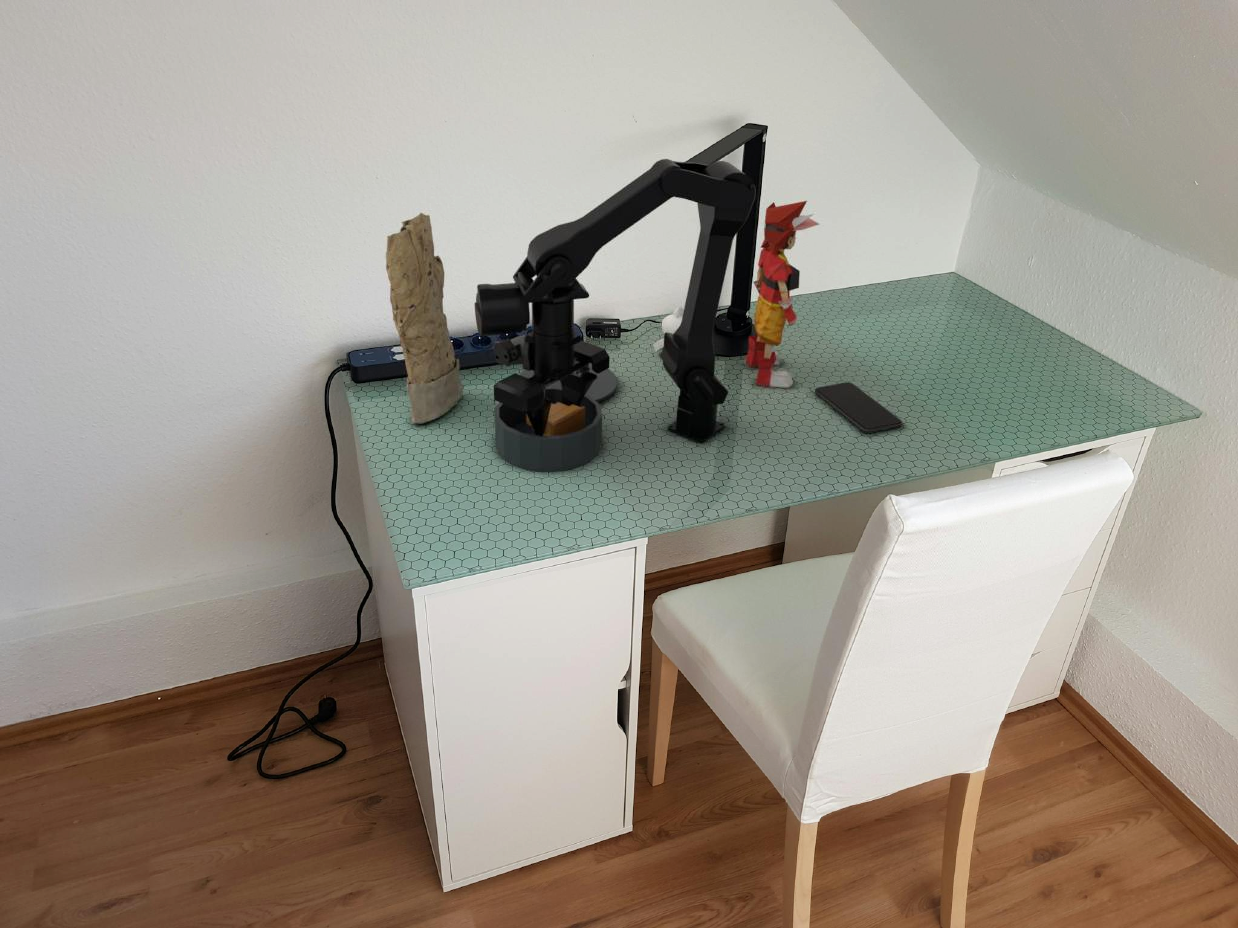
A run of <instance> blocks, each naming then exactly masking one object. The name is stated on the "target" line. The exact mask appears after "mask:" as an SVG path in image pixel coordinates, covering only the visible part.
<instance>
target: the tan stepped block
mask: <svg viewBox="0 0 1238 928" xmlns="http://www.w3.org/2000/svg"><path fill="white" fill-rule="evenodd" d="M526 420H527V424H528V425H531V422H530V420H529V418H528V416H527V413H526ZM531 426H532V425H531ZM583 428H585V407H583V406H581V407H578V406H576V405H573V404H572V405H571V406H567V405H564V404H562V403H559V402H558V403H556V404H551V408H550V412H549V416H548V420H547V424H546V428H545V432H544V435H543V436H557V435H565V434H569V433H573V432H577V431H580V430H582V429H583ZM533 431H534V429H533Z"/></svg>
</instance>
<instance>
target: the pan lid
mask: <svg viewBox="0 0 1238 928" xmlns="http://www.w3.org/2000/svg"><path fill="white" fill-rule="evenodd" d="M588 368H590V372H591V373H594V374H596V375H597V379H596V380H594V381H593V383H592V385H591V386H590V388H589V389H588V391H587V393H586V395H589V396H591V397H592V398H593V399H594V400H595V401H596V402H598V403H599V402H601V401H604V400H606V399H608V398H609V397H610V396H612V395H613V394H614V393H615V391H616V390H617V387H618V379H617V376H616V375H615V372H613V371H612V370H610V368H608V369H606V370H604V371H603V372H601V373H599V374H598V373H595V372H594V371H593V370H592V364H591V363H589V367H588ZM519 375H521V376H523V377H526V378H528V379H529V378H531V377H533V375H534V371H532V370H530V371H527V370H525V369H523V370H522V372H521V373H520V374H519ZM548 387H559V388H562V384H561V382H560V380H559V381H557V382H555V383H553V384H551V385H549V386H548Z"/></svg>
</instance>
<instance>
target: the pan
mask: <svg viewBox="0 0 1238 928" xmlns="http://www.w3.org/2000/svg"><path fill="white" fill-rule="evenodd" d="M545 398H547V399H550V400H552V404H556V403H558V402H559V403H562V404H563V401H562V388H559V387H546V390H545ZM581 406H583V407H585V428H583V429H582V430H580V431H577V432H573V433H569V434H565V435H557V436H538V435H536V434H535V432H534V431H533V427H532V426H531V425H528V424H527V420H526V412H521V411H519V410H516V409H514V408H512V407H509V406H507V405H505V404H502V403H500V402H498V403H497V405H496V406H495V407H494V410H493V411H494V435H495V436H494V437H495V449H496V452H497V454H498V455H499V457H500V458H501V459H503V460H504V461H505V462H506V463H509V465H512V466H515V467H517V468H520V469H523V470H528V471H532V472H533V471H534V472H541V473H546V472H548V473H549V472H550V473H551V472H552V473H553V472H563V471H568V470H573V469H576V468H579V467H581V466H584V465H586V464H587V463H590V462H591V461H592V460H593V459H595V458H596V456H598V454H599V453H600V450H601V448H602V445H603V411H602V407H601V404H600V403H599V402H596V401H595V400H594V399H593V398H592V397H591V396H589V395H586V394H585V396H584V398H583V400H582V401H581V403H580V405H579V407H581Z"/></svg>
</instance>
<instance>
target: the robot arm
mask: <svg viewBox="0 0 1238 928" xmlns="http://www.w3.org/2000/svg"><path fill="white" fill-rule="evenodd" d="M756 188H757V187H756V185H755V183H754V181H753V179H752V178H751V177H750V176H749V175H747V174H746V173H744V172H743V171H742V170H740V169H739V168H738V167H737V166H734V165H733V164H732V163H730V162H728V161H725V160H717V161H714V162H712V163H710V164H706V163H700V162H694V161H692V162H691V161H675V160H672V159H669V158H662V159H659V160H657V161H656V162H654V163H653V165H652V166H651V167H650V168H649V169H647V170H646V171H645V172H644V173H642V174H641V175H639V176H637V178H635V179H634V180H632V181H631V182H629V183H628V184H627V185H625V186H624V187H622V188H621V189H620V190H618V191H617V192H615V193H614V194H613V195H611V196H610V197H609V198H607V199H606V200H604V201H602V202H601V203H600V204H598V205H597V206H596V207H595V208H593V209H591V210H590V211H589V212H588V213H586V214H584V215H583V216H582V217H579V218H577V219H576V220H572V221H568V222H565V223H561V224H557V225H555V226H554V227H552V228H549V229H547V230H545V231H543V232H541V233H539V234H537V235H536V236H535V237H534V238H532V239H531V240H530V242H529V244H528V248H527V253H526V257H525V258H524V260H523V262H522V263H521V264H520V265H519V266H518V268H517V269H516V271H515V272H514V274H513V275H512V279H513V281H514V282H510V283H509V282H508V283H498V284H493V283H492V284H491V283H479V284H477V286H476V287H477V289H476V290H477V291H476V295H475V302H474V316H475V322H476V328H477V332H478V335H479V337H487V336H498V335H500V336H501V335H510V334H521V333H523V331H527V329H528V325H529V324H530V323H531V331H530V332H528V333H526V334H523V335H519V336H516V337H514V338H511V339H510V338H506V339H500V340H498V341H497V340H496V341H495V342H493V343H494V344H493V356H494V359H495V362H496V363H497V364H498V365H505V367H510V366H513V365H522V369H523V370H527V371H530V370H532V371H534V375H533V377H531V378H529V379H528V378H526V377H523V376H521V375H520V374H518V373H516V372H515V373H513V374H511V375H509V376H507V377H504V378H502V379H500V380H499V381H496V383H494V384H493V401H495V402H498V403H499V402H500V403H502V404H505V405H507V406H509V407H512V408H514V409H516V410H519V411H521V412H526V413H527V416H528V418H529V420H530V422H531V425H532V427H533V429H534V432H535V434H536V435H538V436H543V435H544V432H545V428H546V424H547V420H548V416H549V412H550V408H551V404H552V400H550V399H547V398H545V390H546V387H548V386H549V385H551V384H553V383H555V382H557V381H559V380H560V382H561V384H562V401H563V404H564V405H567V406H571V405H572V404H573V405H576V406H578V407H579V405H580V403H581V401H582V400H583V398H584V396H585V394H586V393H587V391H588V389H589V388H590V386H591V385H592V383H593V381H594V380H596V379H597V375H596V374H594V373H591V372H590V368H588V367H589V363H591V364H592V370H593V371H594V372H595V373H598V374H599V373H601V372H603V371H604V370H606V369H610V355H609V353H608V352H607V350H606V348H603V347H600V346H597V345H594V344H592V343H589V342H586V341H583V340H581V335H580V334H578V333H575V300H583V299H588V298H589V297H590V293H589V291H588V290H587V289H586V287H585V286H584V284H582V283H581V282H579V280H578V279H577V278H578V277H579V276H580V275H581V274H582V273H583V272H584V271H585V270H586V269H587V268H588V267H589V265H590V263H592V260H593V259H594V257H595V256H596V255H597V253H598V252H599V251H600V250H601V249H602V248H603V247H604V246H606V245H607V244H609V243H610V242H611V241H613V240H614V239H616V238H617V237H618V236H620V235H621V234H623V233H624V232H626V231H627V230H628V229H630V228H631V227H632V226H634V225H635V224H637V223H638V222H639V221H641V220H642V219H644V218H645V217H647V216H648V215H650V214H651V213H652V212H654V211H655V210H656V209H658V208H660V207H661V206H663V205H664V203H667V202H668V201H669V200H670V199H672V198H678V199H682V200H687V201H690V202H694V203H696V204H697V212H698V218H699V219H698V220H699V227H700V228H699V234H698V239H697V245H696V249H695V255H694V259H693V264H692V269H691V273H690V278H689V283H688V289H687V292H686V293H687V294H686V297H685V302H684V303H685V304H684V308H683V311H684V312H683V317H682V322H681V324H680V326H679V327H678V329H677V330H676V331H675V333H674V334H672V333H668V332H666V333H665V335H664V334H663V339H664V346H663V349H662V350H661V352H660V353H659V355H658V356H659V358H660V359H661V361H662V367H663V368H664V370H665V371H666V373H667V375H668V376H669V377H670V378H671V380H672V381H673V382H674V384H675V385H676V387H677V388H678V389H679V395H678V397H677V407H676V415H675V416H676V417H675V421H673V422H672V423H669V424H668V425H667V430H668V431H670V432H673V433H675V434H678V435H681V436H683V437H685V438H688V439H689V440H692V441H695V442H698V443H704V442H706V441H708V440H709V439H711V438H712V437H713V436H715V435H716V434H718V433H719V432H721V431H722V430H724V428H725V424H724V423H722V422H720V421H717V418H718V417H717V416H718V405H723V404H724V403H725V401H726V399H727V396H728V394H729V390H728V389H727V388H726V387H725V385H724V384H723V383H722V382H721V380H719V378H718V377H717V376H716V375H715V369H716V352H715V346H714V339H713V331H714V327H715V323H716V318H717V313H718V310H719V306H720V305H719V304H720V300H721V295H722V291H723V286H724V282H725V277H726V272H727V268H728V264H729V260H730V255H731V251H732V246H733V241H734V239H735V236H736V235H737V234H738V232H739V231H740V230H741V228H743V226H744V225H745V223H746V222H747V220H748V217H749V215H750V213H751V210H752V207H753V205H754V202H755V200H756V196H757V195H756V194H757V189H756ZM533 278H535V279H533ZM530 304H531V310H530ZM530 311H531V312H530Z"/></svg>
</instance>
